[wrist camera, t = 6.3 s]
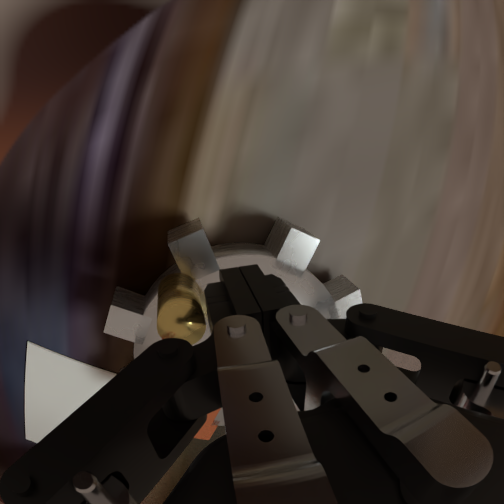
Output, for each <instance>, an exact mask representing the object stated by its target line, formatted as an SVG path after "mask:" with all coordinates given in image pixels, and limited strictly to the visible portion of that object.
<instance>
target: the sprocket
mask: <svg viewBox="0 0 504 504" xmlns="http://www.w3.org/2000/svg"><path fill="white" fill-rule="evenodd" d="M319 242H320V240H319V239H318V238H316V237H315V236H314V235H312V234H311V233H309V232H308V231H306V230H305V229H304V228H301V227H299V226H297V225H295V224H292V223H290V222H288V221H286V220H283V219H281V218H279V217H277V219H276V221H275V223H274V225H273V228H272V230H271V232H270V234H269V236H268V238H267V240H266V242H265V244H264V245H261V244H256V243H241V242H237V243H226V244H220V245H215V246H211V245H210V243H209V241H208V238H207V236H206V234H205V231H204V229H203V226H202V224H201V222H200V219H199V218H197V219H195V220H192V221H190V222H188V223H185V224H183V225H181V226H178V227H176V228H174V229H171V230H169V231H168V246H169V248H170V250H171V252H172V255H173V257H174V259H175V261H176V263H175V264H173V265H172V266H170V267H169V268H168V269H167V270H166V271H165V272H164V273H163V274H161V275H160V276H159V278H158V279H157V280H156V281H155V282H154V283H153V285H152V286H151V287H150V289H149V291H148V292H147V294H146V295H142V294H139V293H136V292H133V291H130V290H127V289H125V288H122V287H119V286H117V287H116V290H115V293H114V296H113V300H112V303H111V307H110V310H109V314H108V317H107V321H106V325H105V328H104V333H107V334H110V335H113V336H116V337H119V338H122V339H125V340H128V341H131V342H134V352H133V353H134V359H135V358H137V357H138V356H139V355H140V354H141V353H142V352H143V351H145V350H146V349H147V348H148V347H149V346H150V345H152V344H153V343H155V342H157V341H159V340H162V339H167V338H180V339H184V340H186V341H188V342H189V343H190V344H191V345H192V346H194V345H197V344H199V343H201V342H203V341H205V340H206V339H207V338H208V337H209V336H210V335H211V332H210V328H209V323H208V316H207V309H206V301H205V294H204V290H205V288H206V286H207V284H208V283H215V282H220V278H219V269H226V268H233V267H240V266H247V265H254V264H257V265H258V266H259V268H260V269H261V270H262V272H263V273H264V275H268V274H273V275H275V276H277V277H279V278H281V279H282V280H283V282H284V283H285V284H286V286H287V287H288V288H289V290H290V291H291V292H292V294H293V295H294V296H295V297H296V299H297V300H298V301H299V303H300V304H301V305H307V306H310V307H313V308H315V309H316V310H317V311H319V312H320V313H321V314H322V315H323V316H324V317H325V318H326V319H346V312H347V310H348V309H349V308H350V307H351V306H353V305H356V304H362V299H361V293H360V289H359V288H358V287H356V286H355V285H354V284H353V283H352V282H351V281H349V280H348V279H347V278H346V277H345V276H343V275H340V276H338V277H336V278H334V279H332V280H330V281H328V282H326V283H324V284H322V283H321V282H320V281H319V280H318V279H317V278H316V277H315V276H314V275H313V274H312V273H311V272H310V271H309V270H308V269H307V268H306V267H307V266H308V264H309V262H310V260H311V258H312V256H313V254H314V252H315V250H316V248H317V246H318V244H319ZM124 368H125V367H123V368H121V369H120V371H122V370H123V369H124ZM217 426H225V423H224V416H223V409H222V408H220V409H218V410H215V411H213V412H211V413H209V414H207V420H206V422H205V423H204V425H203V426H202V427H201V429H200V430H199V431H198V433H197V434H196V435H195V436H194V438H198V439H205V440H209V439H210V437H211V436H212V434H213V432H214V431H215V429H216V428H217Z"/></svg>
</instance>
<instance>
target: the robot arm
mask: <svg viewBox="0 0 504 504" xmlns="http://www.w3.org/2000/svg"><path fill="white" fill-rule="evenodd" d="M219 278H220V282H215V283H208V284H207V286H206V288H205V290H204V294H205V301H206V309H207V316H208V323H209V328H210V332H211V335H210V336H209V337H208V338H207V339H206V340H205V341H203V342H201V343H199V344H197V345H194V346H192V345H191V344H190V343H189V342H188V341H186V340H184V339H180V338H167V339H162V340H159V341H157V342H155V343H153V344H152V345H150V346H149V347H148V348H147V349H146V350H145V351H143V352H142V353H141V354H140V355H139V356H138V357H137V358H135V359H134V360H133V361H132V362H131V363H130V364H128V365H127V366H126V367H125V368H124V369H123V370H122V371H120V372H119V373H118V374H117V375H116V376H115V377H113V378H112V379H111V380H110V381H109V382H108V383H107V384H105V385H104V386H103V387H102V388H101V389H100V390H98V391H97V392H96V393H95V394H94V395H93V396H92V397H90V398H89V399H88V400H87V401H86V402H85V403H83V404H82V405H81V406H80V407H79V408H78V409H77V410H75V411H74V412H73V413H72V414H71V415H70V416H68V417H67V418H66V419H65V420H64V421H63V422H61V423H60V424H59V425H58V426H57V427H56V428H55V429H53V430H52V431H51V432H50V433H49V434H48V435H46V436H45V437H44V438H43V439H42V440H41V441H39V442H38V443H37V444H36V445H35V446H34V447H32V448H31V449H30V450H29V451H28V452H27V453H26V454H24V455H23V456H22V457H21V458H20V459H19V460H17V461H16V462H15V463H14V464H13V465H12V466H10V467H9V468H8V469H7V470H6V471H5V472H4V474H3V476H2V478H1V480H0V495H1V498H2V500H3V502H4V503H5V504H140V503H141V502H142V501H143V499H144V498H145V497H146V496H147V495H148V494H149V492H150V491H151V490H152V489H153V488H154V486H155V485H156V484H157V483H158V482H159V480H160V479H161V478H162V477H163V475H164V474H165V473H166V472H167V471H168V469H169V468H170V467H171V466H172V464H173V463H174V462H175V461H176V459H177V458H178V457H179V456H180V454H181V453H182V452H183V451H184V449H185V448H186V447H187V445H188V444H189V443H190V442H191V440H192V439H193V438H194V436H195V435H196V434H197V433H198V431H199V430H200V429H201V427H202V426H203V425H204V423H205V422H206V420H207V414H209V413H211V412H213V411H215V410H218V409H220V408H222V409H223V416H224V423H225V430H226V435H224V436H222V437H220V438H218V439H216V440H215V441H214V442H212V443H211V444H209V445H208V446H207V447H206V448H205V449H203V450H202V451H201V452H200V453H199V455H198V456H197V457H196V458H195V459H194V461H193V462H192V463H191V465H190V466H189V468H188V469H187V471H186V472H185V473H184V475H183V476H182V478H181V479H180V481H179V482H178V483H177V485H176V486H175V488H174V489H173V490H172V492H171V493H170V495H169V496H168V497H167V499H166V500H165V501H164V503H163V504H504V337H501V336H497V335H493V334H489V333H484V332H480V331H476V330H472V329H468V328H464V327H460V326H456V325H452V324H448V323H444V322H440V321H436V320H432V319H428V318H424V317H420V316H416V315H412V314H409V313H405V312H401V311H397V310H393V309H389V308H385V307H382V306H378V305H374V304H366V303H363V304H356V305H353V306H351V307H350V308H349V309H348V310H347V312H346V319H326V318H325V317H324V316H323V315H322V314H321V313H320V312H319V311H317V310H316V309H315V308H313V307H310V306H307V305H301V304H300V303H299V301H298V300H297V299H296V297H295V296H294V295H293V294H292V292H291V291H290V290H289V288H288V287H287V286H286V284H285V283H284V282H283V280H282V279H281V278H279V277H277V276H275V275H273V274H268V275H264V273H263V272H262V270H261V269H260V268H259V266H258V265H257V264H254V265H247V266H240V267H233V268H226V269H219ZM383 347H384V348H388V349H391V350H395V351H398V352H402V353H405V354H409V355H412V356H415V357H417V358H418V359H419V360H420V362H421V370H419V371H410V370H406V369H403V368H399V367H396V366H395V365H394V364H393V363H392V362H390V361H389V360H388V359H387V358H386V357H385V356H384V355H383V354H382V349H383Z"/></svg>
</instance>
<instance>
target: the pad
mask: <svg viewBox="0 0 504 504" xmlns="http://www.w3.org/2000/svg"><path fill="white" fill-rule="evenodd" d="M116 375H117V374H116V373H113V372H109V371H106V370H103V369H100V368H97V367H94V366H91V365H89V364H86V363H83V362H80V361H77V360H75V359H72V358H69V357H66V356H64V355H61V354H59V353H56V352H54V351H51V350H49V349H46V348H44V347H41V346H39V345H37V344H34V343H32V342H30V341H28V344H27V357H26V373H25V433H26V439H28V440H30V441H33V442H35V443H38V442H39V441H41V440H42V439H43V438H44V437H45V436H46V435H48V434H49V433H50V432H51V431H52V430H53V429H55V428H56V427H57V426H58V425H59V424H60V423H61V422H63V421H64V420H65V419H66V418H67V417H68V416H70V415H71V414H72V413H73V412H74V411H75V410H77V409H78V408H79V407H80V406H81V405H82V404H83V403H85V402H86V401H87V400H88V399H89V398H90V397H92V396H93V395H94V394H95V393H96V392H97V391H98V390H100V389H101V388H102V387H103V386H104V385H105V384H107V383H108V382H109V381H110V380H111V379H112V378H113V377H115V376H116Z"/></svg>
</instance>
